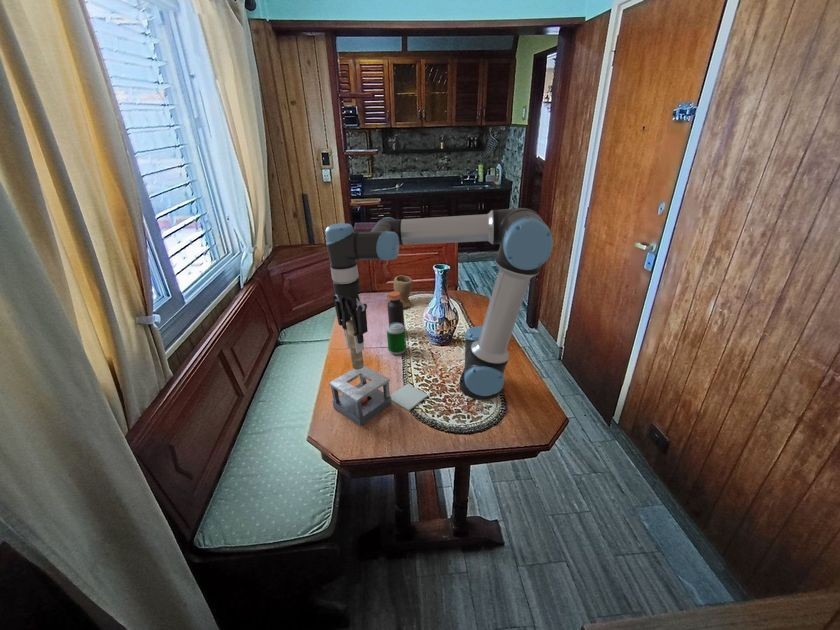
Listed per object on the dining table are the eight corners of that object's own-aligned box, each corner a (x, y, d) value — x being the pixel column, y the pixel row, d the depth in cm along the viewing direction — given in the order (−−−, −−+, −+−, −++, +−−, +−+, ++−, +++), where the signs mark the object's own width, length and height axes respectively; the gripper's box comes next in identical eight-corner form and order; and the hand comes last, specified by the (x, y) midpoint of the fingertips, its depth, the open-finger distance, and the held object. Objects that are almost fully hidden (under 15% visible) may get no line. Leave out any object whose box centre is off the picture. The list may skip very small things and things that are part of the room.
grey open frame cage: (391, 403, 132) (389, 378, 127) (360, 426, 123) (356, 400, 118) (364, 387, 140) (361, 363, 135) (333, 407, 131) (329, 382, 126)
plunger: (370, 402, 131) (369, 391, 129) (361, 409, 128) (360, 397, 126) (363, 398, 133) (361, 386, 131) (354, 404, 131) (352, 392, 129)
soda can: (404, 356, 157) (402, 331, 152) (386, 355, 159) (384, 329, 153) (408, 346, 164) (406, 322, 158) (391, 345, 165) (389, 320, 160)
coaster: (428, 396, 135) (428, 394, 134) (408, 411, 128) (408, 409, 128) (407, 384, 141) (407, 383, 140) (387, 398, 134) (387, 397, 134)
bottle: (408, 333, 174) (405, 293, 165) (396, 339, 170) (393, 298, 160) (398, 328, 178) (395, 289, 169) (386, 334, 174) (383, 293, 165)
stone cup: (417, 306, 198) (416, 279, 191) (395, 311, 194) (393, 284, 187) (406, 296, 210) (404, 270, 204) (385, 300, 206) (383, 274, 200)
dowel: (366, 365, 124) (360, 321, 117) (357, 370, 122) (351, 326, 114) (358, 361, 126) (352, 318, 119) (350, 366, 124) (343, 322, 116)
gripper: (375, 281, 108) (382, 352, 118) (338, 269, 118) (348, 335, 128) (354, 290, 103) (364, 363, 113) (317, 276, 113) (330, 345, 123)
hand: (355, 348), depth 121 cm, fingers closed on dowel, 3 cm apart
